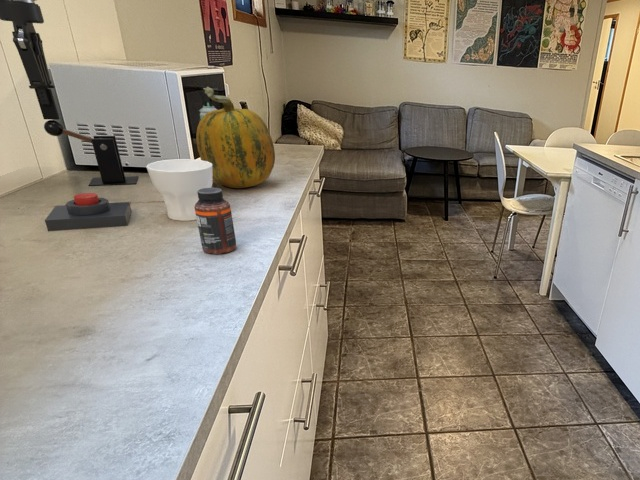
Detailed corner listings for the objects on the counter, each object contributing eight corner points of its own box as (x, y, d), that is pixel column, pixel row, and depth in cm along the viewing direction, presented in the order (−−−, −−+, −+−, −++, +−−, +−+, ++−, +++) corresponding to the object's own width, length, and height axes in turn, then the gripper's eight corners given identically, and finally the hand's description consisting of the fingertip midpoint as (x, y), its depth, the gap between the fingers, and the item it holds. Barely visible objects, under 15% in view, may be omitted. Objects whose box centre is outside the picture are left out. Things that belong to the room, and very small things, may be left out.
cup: (184, 204, 111) (175, 156, 106) (232, 211, 109) (224, 162, 104) (143, 219, 100) (131, 167, 95) (195, 227, 99) (185, 174, 93)
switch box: (48, 231, 91) (41, 211, 89) (58, 215, 99) (52, 197, 97) (127, 225, 97) (122, 206, 95) (131, 211, 104) (127, 193, 102)
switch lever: (40, 133, 109) (43, 118, 108) (44, 131, 112) (47, 116, 111) (109, 155, 117) (112, 141, 116) (111, 152, 120) (114, 139, 119)
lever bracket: (89, 189, 116) (75, 140, 111) (94, 182, 123) (81, 134, 117) (137, 187, 121) (125, 140, 115) (139, 180, 127) (128, 134, 121)
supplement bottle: (238, 242, 92) (229, 185, 87) (236, 254, 88) (227, 194, 82) (204, 244, 91) (193, 186, 85) (200, 256, 86) (188, 194, 80)
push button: (74, 207, 94) (71, 198, 93) (77, 201, 97) (75, 193, 96) (98, 206, 95) (96, 197, 94) (101, 200, 98) (98, 192, 98)
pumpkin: (197, 194, 119) (177, 86, 108) (212, 176, 136) (197, 81, 124) (274, 194, 124) (264, 91, 112) (280, 177, 140) (271, 86, 129)
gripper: (30, 1, 96) (66, 123, 107) (45, 4, 106) (76, 115, 117) (-18, -4, 93) (24, 122, 104) (2, 0, 103) (38, 115, 114)
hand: (51, 118), depth 110 cm, fingers closed
